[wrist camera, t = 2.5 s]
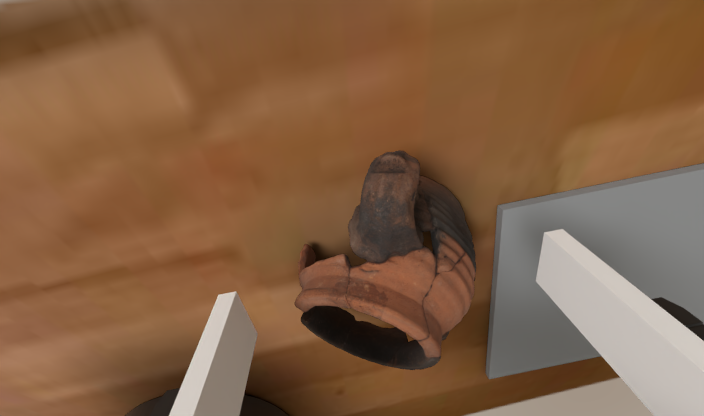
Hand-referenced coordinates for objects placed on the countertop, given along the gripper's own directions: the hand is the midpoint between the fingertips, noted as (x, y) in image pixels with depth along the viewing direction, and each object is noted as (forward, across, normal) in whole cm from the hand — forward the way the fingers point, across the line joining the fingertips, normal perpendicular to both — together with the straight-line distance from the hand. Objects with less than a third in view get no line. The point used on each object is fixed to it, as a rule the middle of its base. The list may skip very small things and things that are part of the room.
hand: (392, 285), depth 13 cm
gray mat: (+6, -17, +9) cm, 20 cm away
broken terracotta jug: (+6, 0, 0) cm, 6 cm away
